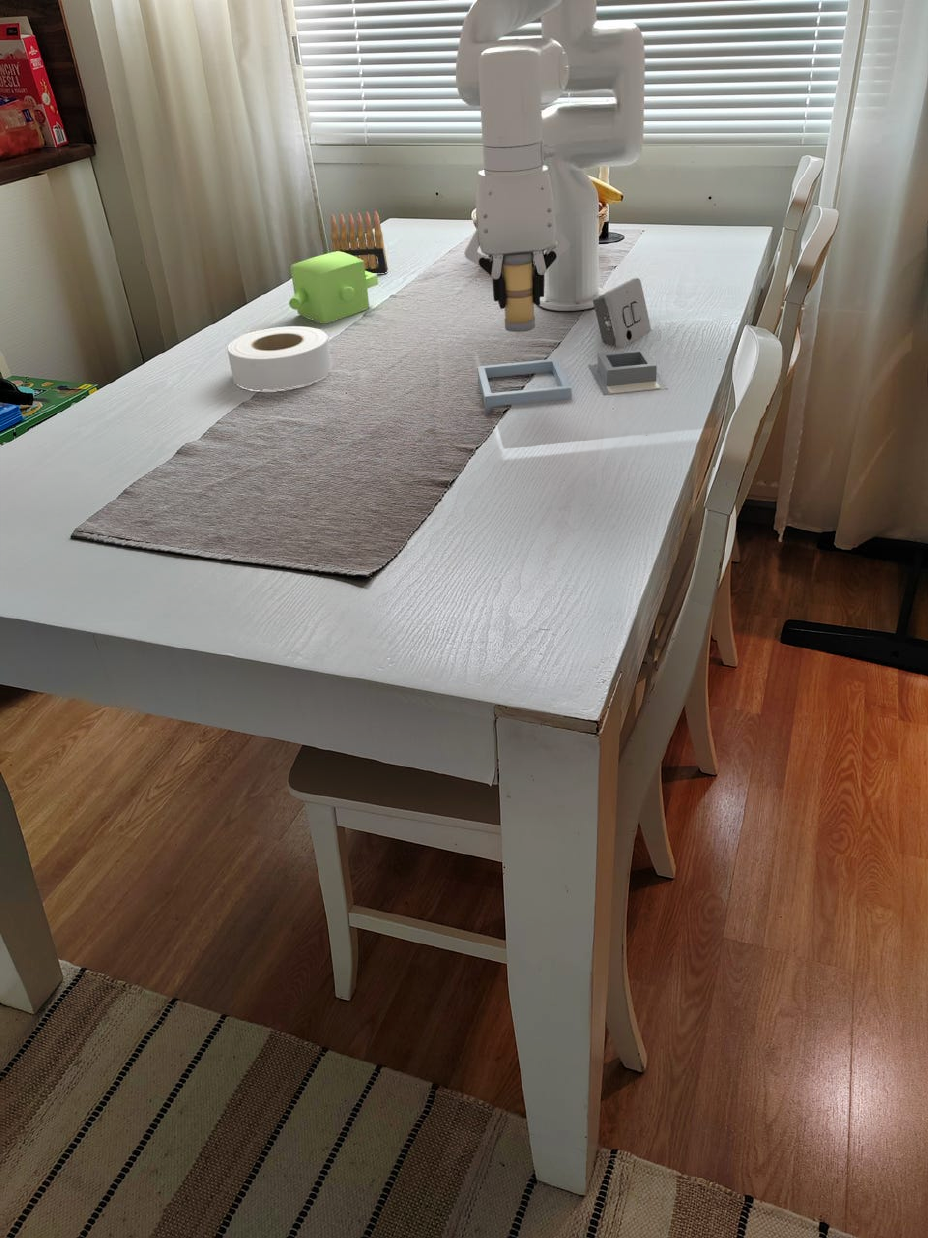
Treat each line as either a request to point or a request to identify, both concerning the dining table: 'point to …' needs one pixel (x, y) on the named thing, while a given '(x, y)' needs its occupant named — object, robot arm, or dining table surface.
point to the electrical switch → (622, 314)
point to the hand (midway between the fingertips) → (518, 302)
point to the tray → (522, 395)
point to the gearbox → (331, 286)
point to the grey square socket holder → (626, 372)
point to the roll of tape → (279, 357)
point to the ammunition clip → (361, 241)
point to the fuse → (519, 292)
